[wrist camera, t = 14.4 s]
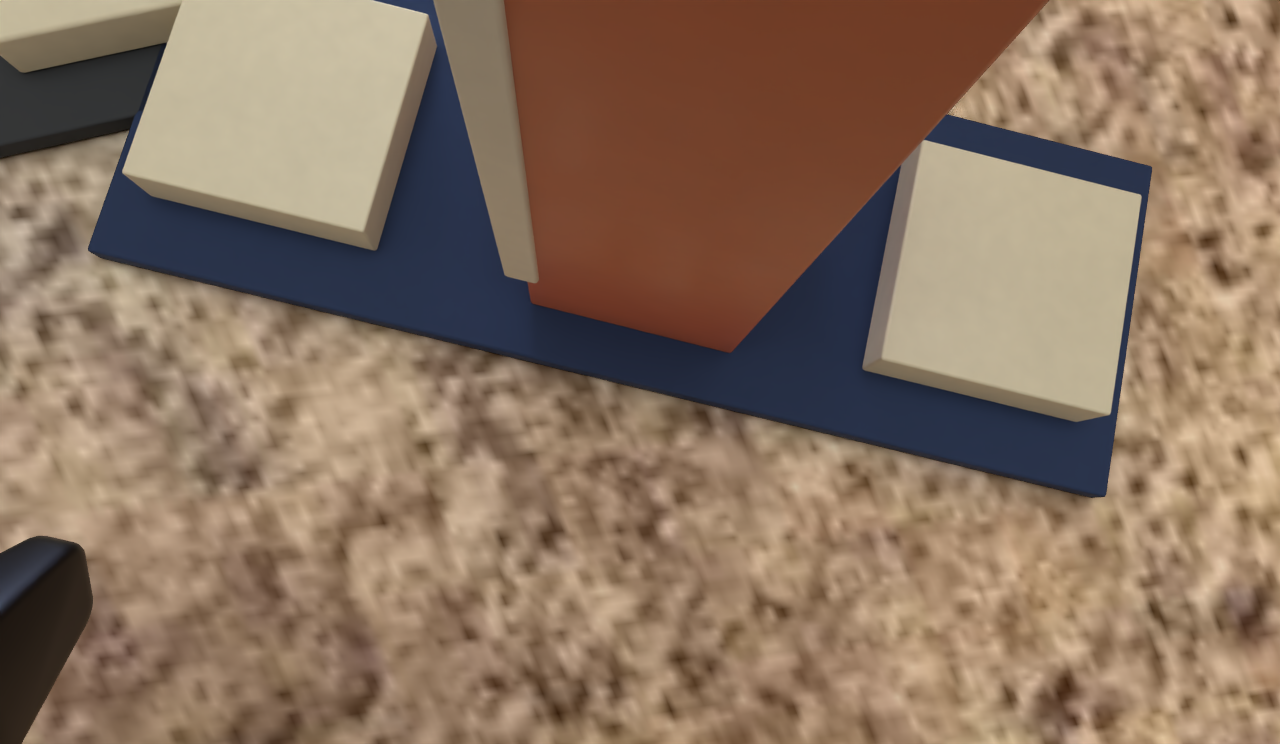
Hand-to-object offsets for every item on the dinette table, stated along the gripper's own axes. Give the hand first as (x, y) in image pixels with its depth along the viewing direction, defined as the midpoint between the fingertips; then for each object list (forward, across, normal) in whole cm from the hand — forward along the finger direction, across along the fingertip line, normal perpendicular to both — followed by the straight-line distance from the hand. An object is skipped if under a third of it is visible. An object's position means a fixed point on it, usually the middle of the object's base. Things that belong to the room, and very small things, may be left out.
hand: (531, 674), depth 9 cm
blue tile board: (+12, 0, 0) cm, 12 cm away
